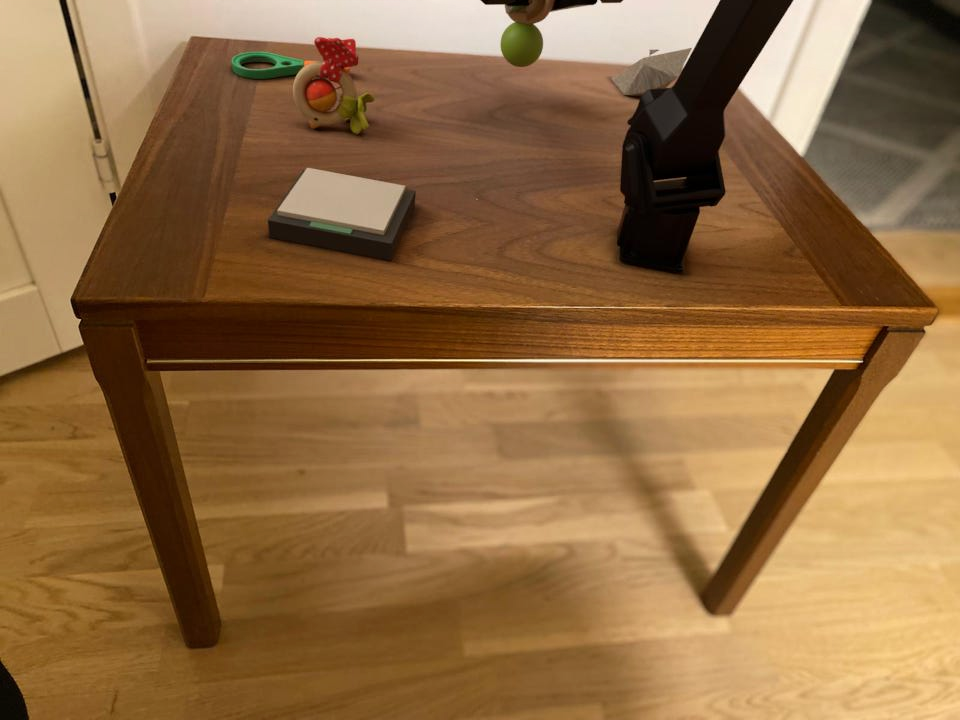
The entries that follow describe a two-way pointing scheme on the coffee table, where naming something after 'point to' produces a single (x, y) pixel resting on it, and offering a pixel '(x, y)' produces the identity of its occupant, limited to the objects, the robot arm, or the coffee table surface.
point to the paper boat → (651, 72)
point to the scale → (343, 213)
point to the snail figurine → (525, 34)
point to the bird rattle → (331, 86)
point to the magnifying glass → (281, 68)
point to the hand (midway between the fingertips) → (525, 9)
